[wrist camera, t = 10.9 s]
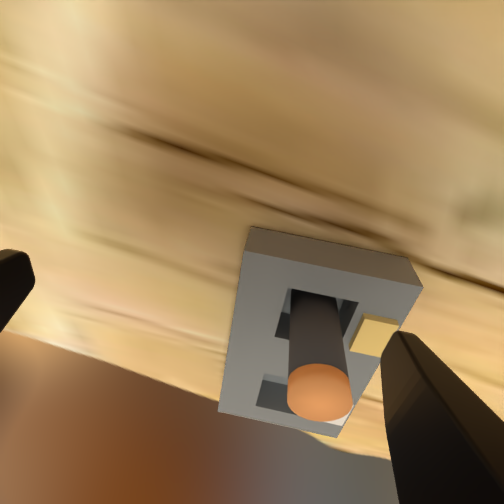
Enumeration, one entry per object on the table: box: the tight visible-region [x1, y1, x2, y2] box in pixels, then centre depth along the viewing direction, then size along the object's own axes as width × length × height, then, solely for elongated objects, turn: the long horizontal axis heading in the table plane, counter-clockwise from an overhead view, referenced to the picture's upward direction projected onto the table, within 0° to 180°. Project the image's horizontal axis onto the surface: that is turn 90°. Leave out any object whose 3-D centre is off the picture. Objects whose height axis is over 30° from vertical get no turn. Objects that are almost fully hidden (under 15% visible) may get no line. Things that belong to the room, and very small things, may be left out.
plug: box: [287, 289, 353, 422], centre depth 18 cm, size 3×3×8 cm
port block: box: [218, 227, 423, 438], centre depth 22 cm, size 10×16×4 cm, turn 171°
